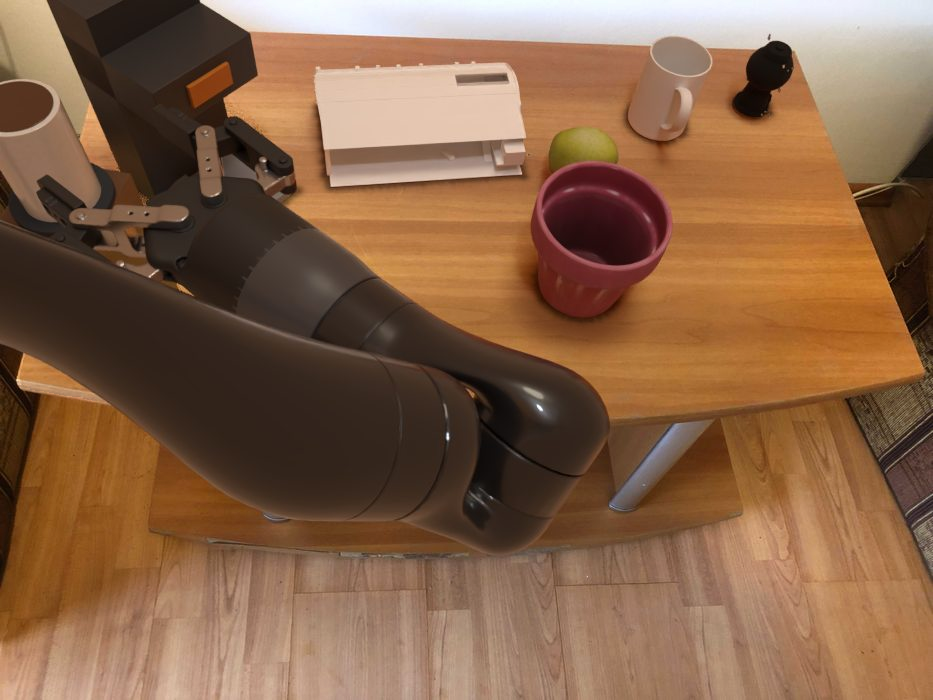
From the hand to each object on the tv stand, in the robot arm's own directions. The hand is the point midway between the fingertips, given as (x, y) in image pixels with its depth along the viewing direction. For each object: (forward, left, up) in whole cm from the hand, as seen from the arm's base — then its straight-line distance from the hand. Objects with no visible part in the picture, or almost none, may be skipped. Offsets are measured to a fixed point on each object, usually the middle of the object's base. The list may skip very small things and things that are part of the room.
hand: (103, 151), depth 47 cm
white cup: (-10, +5, -12) cm, 16 cm away
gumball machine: (+58, +56, -32) cm, 87 cm away
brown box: (-10, +5, -32) cm, 33 cm away
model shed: (+14, +39, -32) cm, 53 cm away
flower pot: (+36, +20, -32) cm, 52 cm away
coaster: (-10, +5, -13) cm, 17 cm away
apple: (+35, +36, -32) cm, 60 cm away
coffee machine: (-8, +26, -32) cm, 42 cm away
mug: (+45, +48, -32) cm, 73 cm away
